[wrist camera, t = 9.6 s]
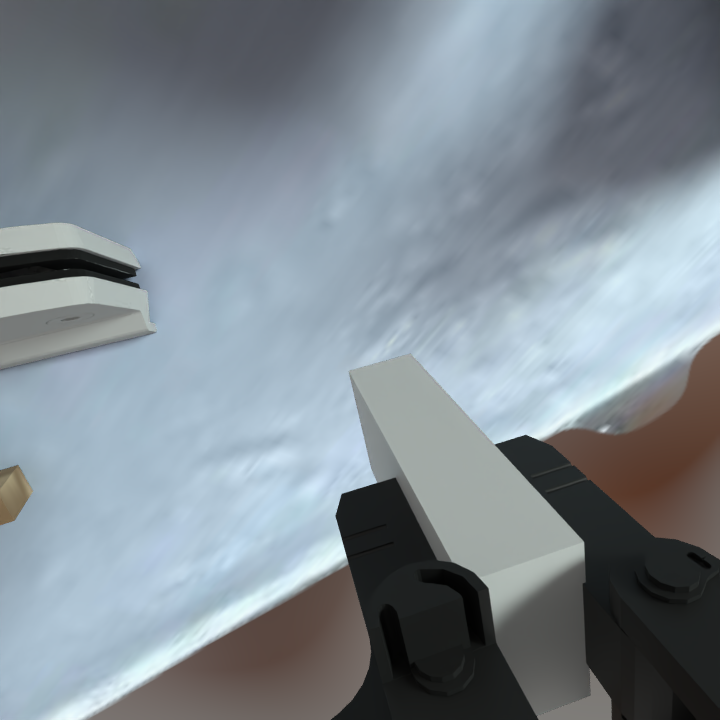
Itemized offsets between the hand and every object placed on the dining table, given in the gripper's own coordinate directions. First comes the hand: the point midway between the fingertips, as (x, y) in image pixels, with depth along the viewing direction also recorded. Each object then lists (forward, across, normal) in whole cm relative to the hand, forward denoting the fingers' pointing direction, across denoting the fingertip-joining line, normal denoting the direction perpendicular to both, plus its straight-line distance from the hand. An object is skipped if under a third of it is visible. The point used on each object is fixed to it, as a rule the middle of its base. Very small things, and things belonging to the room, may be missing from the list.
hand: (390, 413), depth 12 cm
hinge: (+21, -17, +2) cm, 27 cm away
